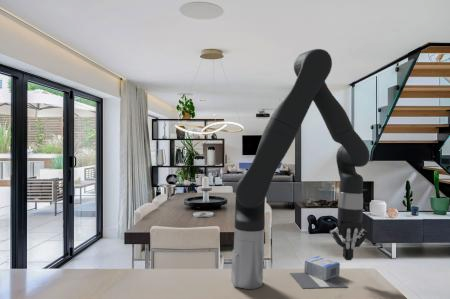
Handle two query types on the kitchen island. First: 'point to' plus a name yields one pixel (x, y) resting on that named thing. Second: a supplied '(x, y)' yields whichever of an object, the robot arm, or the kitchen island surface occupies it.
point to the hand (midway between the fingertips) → (347, 259)
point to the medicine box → (322, 268)
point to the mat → (316, 281)
